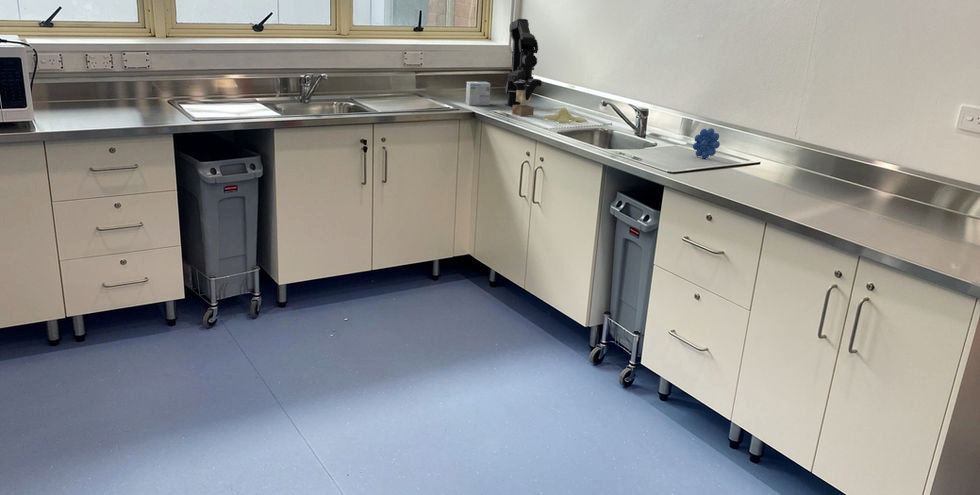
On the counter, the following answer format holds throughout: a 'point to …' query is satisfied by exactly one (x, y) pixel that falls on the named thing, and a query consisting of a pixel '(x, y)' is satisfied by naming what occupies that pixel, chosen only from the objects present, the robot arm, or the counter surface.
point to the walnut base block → (522, 110)
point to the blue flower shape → (706, 143)
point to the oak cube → (522, 96)
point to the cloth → (564, 117)
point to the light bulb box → (478, 93)
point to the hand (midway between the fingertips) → (523, 99)
